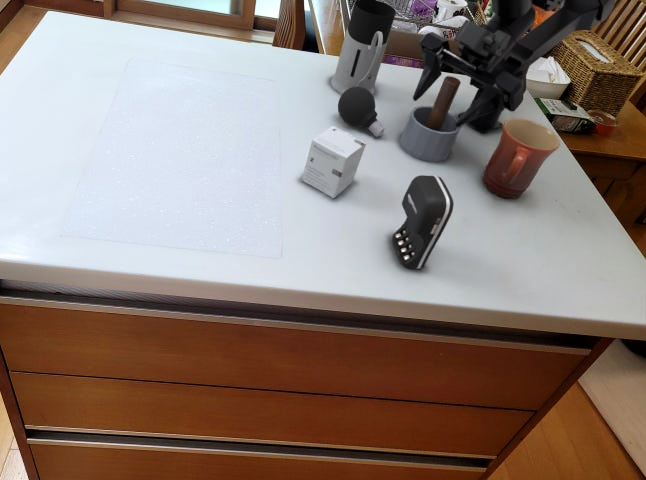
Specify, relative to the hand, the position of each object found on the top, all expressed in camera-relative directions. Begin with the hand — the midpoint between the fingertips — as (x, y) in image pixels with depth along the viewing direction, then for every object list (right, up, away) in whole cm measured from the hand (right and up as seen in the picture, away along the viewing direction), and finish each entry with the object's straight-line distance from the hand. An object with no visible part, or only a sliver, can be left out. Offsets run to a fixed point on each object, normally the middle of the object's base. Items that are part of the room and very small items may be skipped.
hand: (434, 112), depth 90 cm
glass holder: (-11, +8, +15) cm, 21 cm away
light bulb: (-12, 0, +7) cm, 14 cm away
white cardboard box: (-18, -13, -6) cm, 23 cm away
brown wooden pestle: (0, -4, +6) cm, 7 cm away
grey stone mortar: (0, -4, +6) cm, 7 cm away
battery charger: (-9, -24, -14) cm, 29 cm away
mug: (+10, -13, 0) cm, 17 cm away
